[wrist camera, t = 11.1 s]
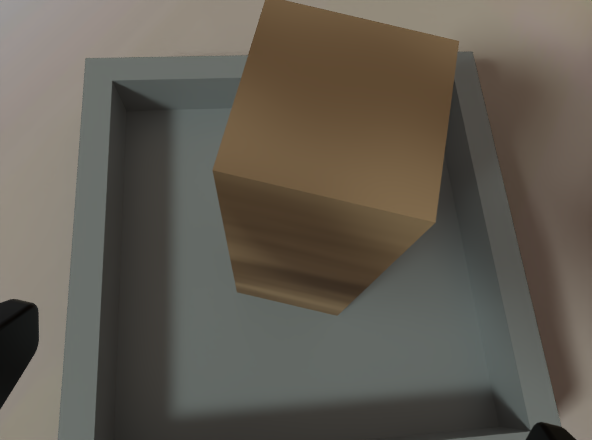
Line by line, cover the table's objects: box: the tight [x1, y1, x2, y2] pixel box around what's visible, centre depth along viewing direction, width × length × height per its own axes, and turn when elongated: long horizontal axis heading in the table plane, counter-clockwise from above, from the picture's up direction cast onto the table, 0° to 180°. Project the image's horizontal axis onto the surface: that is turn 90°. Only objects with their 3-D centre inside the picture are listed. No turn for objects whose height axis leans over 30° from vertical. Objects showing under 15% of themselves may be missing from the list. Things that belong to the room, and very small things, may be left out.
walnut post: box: [212, 0, 459, 316], centre depth 16 cm, size 4×4×12 cm
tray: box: [58, 52, 561, 440], centre depth 21 cm, size 18×18×4 cm
